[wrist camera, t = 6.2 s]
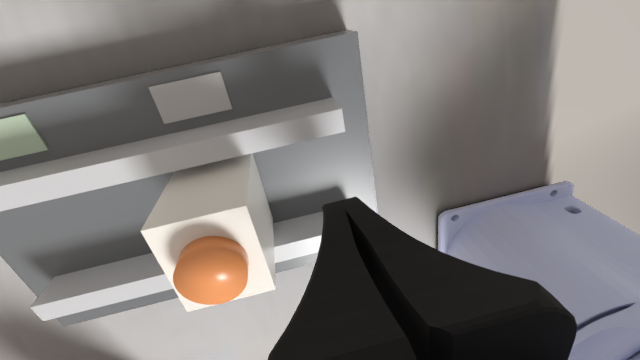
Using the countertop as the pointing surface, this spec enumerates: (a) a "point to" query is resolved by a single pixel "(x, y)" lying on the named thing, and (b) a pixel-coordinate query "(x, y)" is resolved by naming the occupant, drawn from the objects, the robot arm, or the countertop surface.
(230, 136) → the grey flat ridged block
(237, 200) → the breaker knob
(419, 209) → the countertop surface
